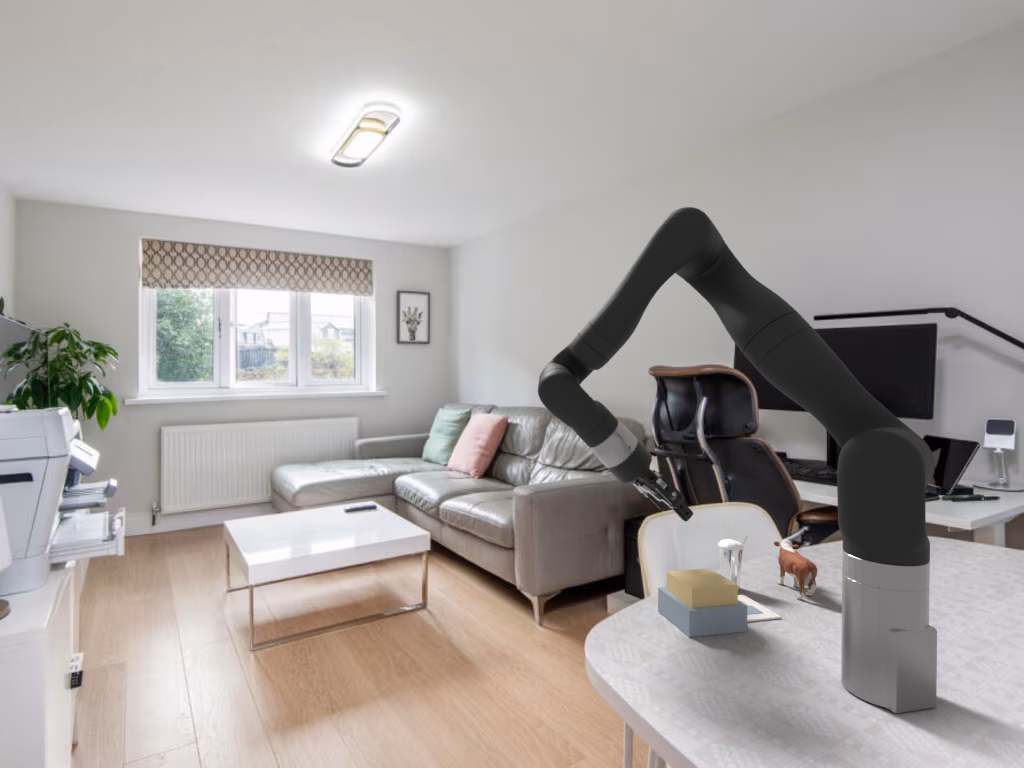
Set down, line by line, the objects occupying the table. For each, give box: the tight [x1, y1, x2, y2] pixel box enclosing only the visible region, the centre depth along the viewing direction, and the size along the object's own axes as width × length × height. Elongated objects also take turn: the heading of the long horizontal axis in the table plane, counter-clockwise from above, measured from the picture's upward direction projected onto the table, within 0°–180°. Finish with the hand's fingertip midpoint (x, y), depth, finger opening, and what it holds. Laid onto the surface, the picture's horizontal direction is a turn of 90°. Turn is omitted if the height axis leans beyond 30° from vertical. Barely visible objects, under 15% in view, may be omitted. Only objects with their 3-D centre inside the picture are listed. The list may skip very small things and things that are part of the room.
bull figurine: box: [773, 538, 818, 601], centre depth 108 cm, size 4×13×8 cm, turn 174°
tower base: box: [657, 568, 748, 638], centre depth 93 cm, size 10×10×7 cm
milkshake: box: [717, 535, 749, 591], centre depth 108 cm, size 5×5×10 cm
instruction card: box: [738, 594, 782, 623], centre depth 98 cm, size 10×7×1 cm
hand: (676, 512), depth 105 cm, fingers open, 8 cm apart
